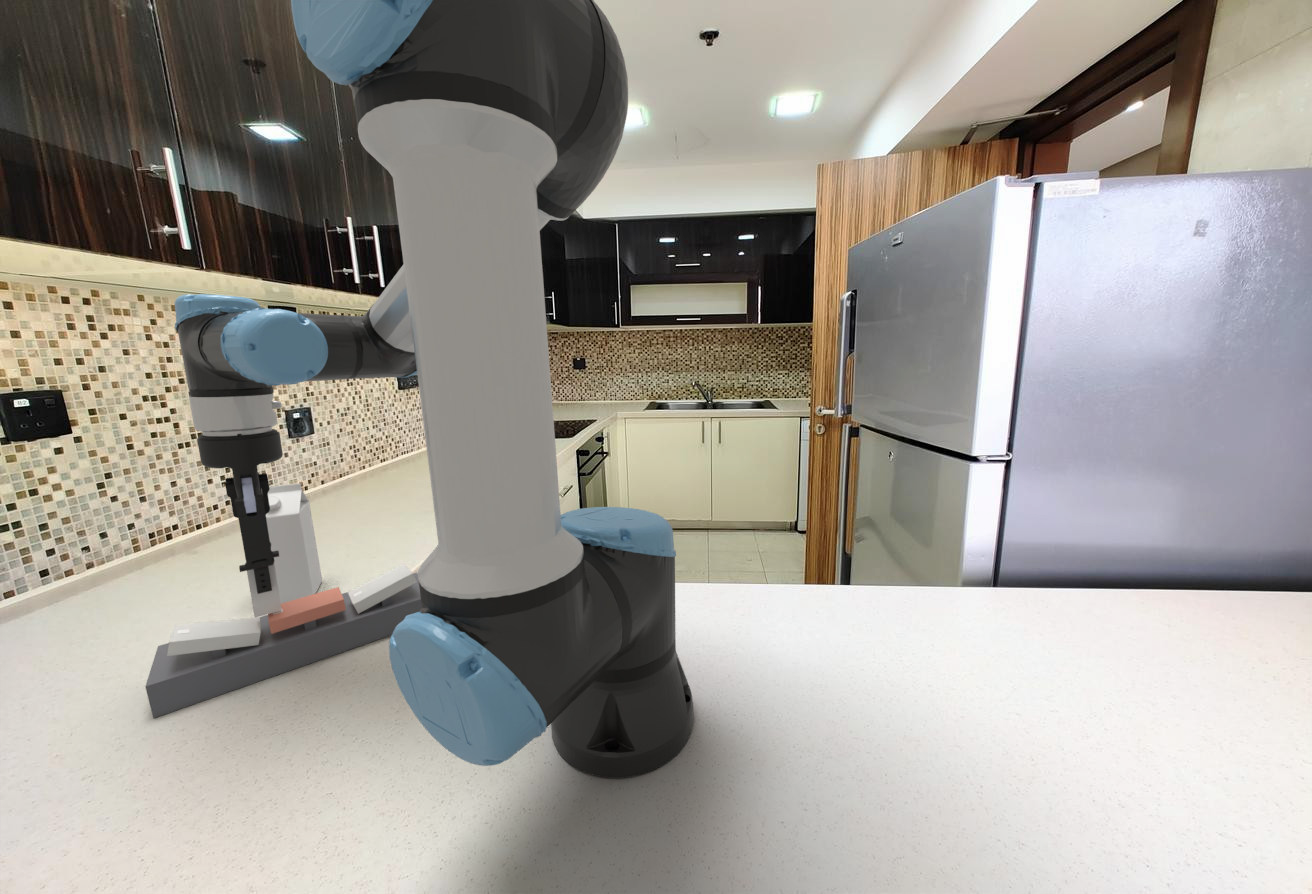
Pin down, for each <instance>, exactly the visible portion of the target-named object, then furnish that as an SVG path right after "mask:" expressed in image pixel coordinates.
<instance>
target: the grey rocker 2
mask: <svg viewBox="0 0 1312 894" xmlns="http://www.w3.org/2000/svg"><path fill="white" fill-rule="evenodd" d="M414 583H416V579H415V577H414V575H413V572H412V571H411V569H410V568H409V567H408V566H407V565H406V563H405V562H403V563H401V564H399V565H398V566H395V567H393V568H392V569H390V570H387V571H386V572H384V573H382V574H381V575H378V576H376V577H374V578H372V579H371V580H368V581H367V582H364V583H363V584H361V585H359V586H357V587H355V588H353V589H351V590H349V591H347V592H348V594H349V596H350V599H351V601H352V603H353V605H354V607H355V609H356V611H357V612H358V614H359V613H361V612H363V611H364V610H366V609H368V608H370V607H372V606H374V605H376V604H377V603H379V602H381V601H383V600H385V599H387V598H388V597H390V596H392V595H394V594H396V593H398V592H400V591H401V590H403V589H405V588H407V587H409V586H411V585H412V584H414Z"/></svg>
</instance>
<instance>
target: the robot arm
mask: <svg viewBox="0 0 1312 894" xmlns="http://www.w3.org/2000/svg"><path fill="white" fill-rule="evenodd" d="M290 3H291V4H290V5H291V14H292V19H293V21H292V22H293V26H294V30H295V33H296V37H297V39H298V43H299V44H300V46H301V48H302V51H303V52H304V53H306V57H307V59H308V60H309V61H310V63H312V65H313V66H314V67H315V68H316V69H317V70H319V71H320V72H322V73H323V74H324V75H325V76H326V77H327V78H328V79H329V80H330V81H331V82H333V83H334V84H335V83H336V84H338V85H340V86H341V85H344V86H349V88H350V89H351V92H352V93H351V94H352V99H353V107H354V111H355V118H356V125H357V133H358V139H359V141H360V144H361V145H362V147H363V148H364V149H365V151H366V152H367V153H368V154H370V155H371V156H372V158H374V159H375V160H376V161H377V162H378V163H379V164H380V165H381V166H382V167H384V169H385V170H387V171H388V173H389V174H390V175H391V177H392V181H393V190H394V197H395V198H394V199H395V205H396V213H397V222H398V229H399V230H398V231H399V237H400V246H401V252H402V253H401V254H402V263H403V264H402V266H401V267H400V268H399V269H398V271H397V272H396V274H395V275H394V276H393V278H392V279H391V280H390V282H388V284H387V286H386V287H385V288H384V290H383V291H382V292H381V294H380V295H379V296H378V298H377V299H376V301H375V302H374V303H373V304H372V305H371V306H370V307H369V309H368V310H367V311H366V312H365V314H364V315H361V316H360V315H342V314H326V313H325V314H324V313H322V314H320V313H309V312H308V313H304V312H295V311H291V310H287V309H281V308H266V307H261V305H260V304H259V303H258V302H257V301H256V300H254V299H252V298H248V297H242V296H235V295H225V294H210V293H209V294H206V293H199V294H187V293H186V294H181V295H180V296H178V297H177V298H176V299H175V300H174V311H175V322H174V329H175V331H176V333H177V335H178V339H179V344H180V351H181V356H182V362H183V366H184V367H183V368H184V373H185V376H186V377H185V378H186V383H187V388H188V394H189V396H188V400H189V405H190V411H191V416H192V417H191V418H192V421H193V428H194V430H195V431H197V432H201V433H202V434H200V435H199V436H198V437H197V438H196V440H197V441H196V442H197V446H198V447H197V449H198V453H199V459H200V463H201V465H202V466H203V467H206V468H209V469H224V468H229V469H231V470H232V476H233V477H226V478H225V482H224V485H225V491H226V495H227V497H229V499H230V503H231V511H232V516H233V517H234V518H236V519H238V523H239V529H240V533H241V534H240V535H241V541H242V546H243V553H244V558H245V563H244V564H241V565H239V567H238V568H239V573H242V572H246V575H247V580H248V587H249V591H250V597H251V604H252V609H253V616H254V617H262V616H266V615H268V614H270V613H274V612H278V611H282V609H281V603H280V596H279V590H278V583H277V577H276V570H275V564H274V557H279V551H271V543H270V539H269V533H268V526H267V520H266V514H267V513H268V512H269V511H270V506H269V499H268V491H269V489H270V488H269V487H270V483H269V477H268V473H260V472H258V466H259V465H262V464H263V465H264V464H271V463H273V462H276V461H279V460H281V459H282V457H283V447H282V446H283V445H282V440H281V439H282V438H281V433H280V431H278V430H277V429H275V428H273V427H275V426H277V425H278V417H277V412H276V411H275V410H277V409H281V408H282V407H283V405H282V402H281V401H279V400H274V398H275V396H274V392H275V391H274V386H280V385H281V386H282V385H285V386H287V385H296V384H297V385H298V384H300V383H303V382H304V383H305V382H321V381H322V382H323V381H337V380H339V381H341V380H356V379H381V378H383V379H384V378H396V379H397V378H398V379H404V378H409V377H411V376H417V382H418V383H417V384H418V390H419V397H420V407H421V414H422V415H421V416H422V423H423V431H424V432H423V433H424V439H425V446H426V448H425V449H426V454H427V463H428V471H429V478H430V487H431V495H432V501H433V511H434V519H435V526H436V527H435V528H436V535H437V545H436V547H435V548H434V549H433V550H432V551H431V553H430V554H428V556H427V557H426V558H425V559H424V561H423V562H422V563H421V564H420V566H419V568H418V571H417V574H418V581H419V588H420V596H421V604H422V608H421V611H420V612H417V613H414V614H410V615H407V616H406V617H405V618H404V620H403V621H402V622H401V623H399V624H398V625H397V626H396V627H395V630H394V631H393V635H390V638H389V644H388V651H389V652H388V653H389V661H390V665H391V669H392V673H393V676H394V679H395V681H396V684H397V686H398V688H399V690H400V693H401V694H402V696H403V699H404V700H405V702H406V703H407V705H408V707H409V708H410V710H411V712H412V713H413V715H414V716H415V717H416V718H417V720H418V721H419V722H420V724H421V725H422V726H423V728H424V729H425V730H426V731H427V732H428V734H430V736H431V737H432V738H434V739H435V741H436V742H437V743H439V744H440V745H441V746H442V747H443V748H444V749H446V750H447V751H448V752H449V753H450V754H452V755H454V756H456V757H457V758H459V759H461V760H462V761H465V762H467V763H468V764H472V765H476V766H481V767H492V766H496V765H500V764H501V763H503V762H505V761H508V760H509V759H511V758H512V757H513V756H514V755H516V754H517V753H518V752H520V751H521V750H522V749H523V748H525V746H526V745H528V744H529V743H531V742H532V741H533V740H534V739H536V738H539V737H541V736H542V734H543V733H545V732H546V730H547V728H548V727H549V726H550V729H551V737H552V741H553V744H554V746H555V749H556V751H557V752H558V754H559V755H560V756H561V757H562V759H564V761H566V763H568V764H569V765H571V766H572V767H574V768H575V769H577V770H579V771H581V772H583V773H586V774H587V775H588V774H589V775H592V776H596V777H600V778H608V779H609V778H610V779H619V778H620V779H621V778H631V777H636V776H640V775H643V774H648V773H650V772H653V771H655V770H657V769H659V768H660V767H662V766H664V765H666V764H667V763H669V762H671V760H673V759H674V758H675V757H676V756H677V755H678V754H679V753H680V752H681V751H682V750H683V748H684V747H685V745H686V744H687V742H688V741H689V740H690V739H689V738H690V736H691V734H692V731H693V726H694V700H693V699H694V698H693V694H692V691H691V687H690V685H689V682H688V678H687V676H686V674H685V671H684V668H683V666H682V663H681V661H680V660H681V659H680V658H679V655H678V653H677V650H676V649H677V647H676V645H677V644H676V641H677V640H676V633H677V632H676V556H677V551H676V550H675V545H674V544H675V543H674V531H673V528H672V527H673V526H672V525H671V523H670V522H669V521H668V520H667V519H666V518H665V517H664V516H661V515H659V514H657V513H655V512H652V511H648V510H643V509H638V508H631V507H622V506H618V507H617V506H595V507H583V508H578V509H573V510H569V511H566V512H564V513H563V514H561V513H562V512H561V502H560V488H559V476H558V473H559V472H558V461H557V451H556V450H557V448H556V436H555V435H556V434H555V432H556V431H555V419H554V409H553V408H554V407H553V395H552V393H553V392H552V382H551V380H552V379H551V369H550V355H549V354H550V353H549V352H550V351H549V340H548V329H547V328H548V327H547V316H546V315H547V313H546V301H545V300H546V299H545V288H544V287H545V286H544V272H543V263H542V262H543V261H542V260H543V259H542V245H541V234H540V233H541V232H540V231H541V230H542V229H543V228H544V227H545V226H546V225H547V224H548V222H550V221H551V220H552V221H553V220H554V221H557V222H558V221H562V222H563V221H565V220H567V219H569V217H571V216H572V215H573V214H574V212H576V210H577V209H578V208H579V207H581V206H582V205H583V204H584V202H585V201H586V200H587V199H588V197H590V196H591V194H592V193H593V192H594V191H595V189H596V188H597V186H598V185H599V184H600V182H601V181H602V180H603V178H604V177H605V175H606V174H607V172H608V170H609V168H610V166H611V164H612V163H613V160H614V159H615V156H616V154H617V152H618V150H619V146H620V144H621V141H622V139H623V135H624V132H625V130H624V129H625V127H626V122H627V121H626V120H627V116H628V108H629V82H628V81H629V80H628V79H629V78H628V73H627V69H626V68H627V67H626V62H625V56H624V55H623V52H622V51H623V50H622V49H621V45H620V43H619V42H620V41H619V39H618V36H617V33H616V32H615V30H614V29H613V27H612V25H611V23H610V21H609V19H608V17H607V16H606V15H605V13H604V12H603V10H602V9H601V8H600V7H599V6H598V4H597V3H596V2H595V0H290ZM261 489H262V491H261ZM254 617H253V618H254Z"/></svg>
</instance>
